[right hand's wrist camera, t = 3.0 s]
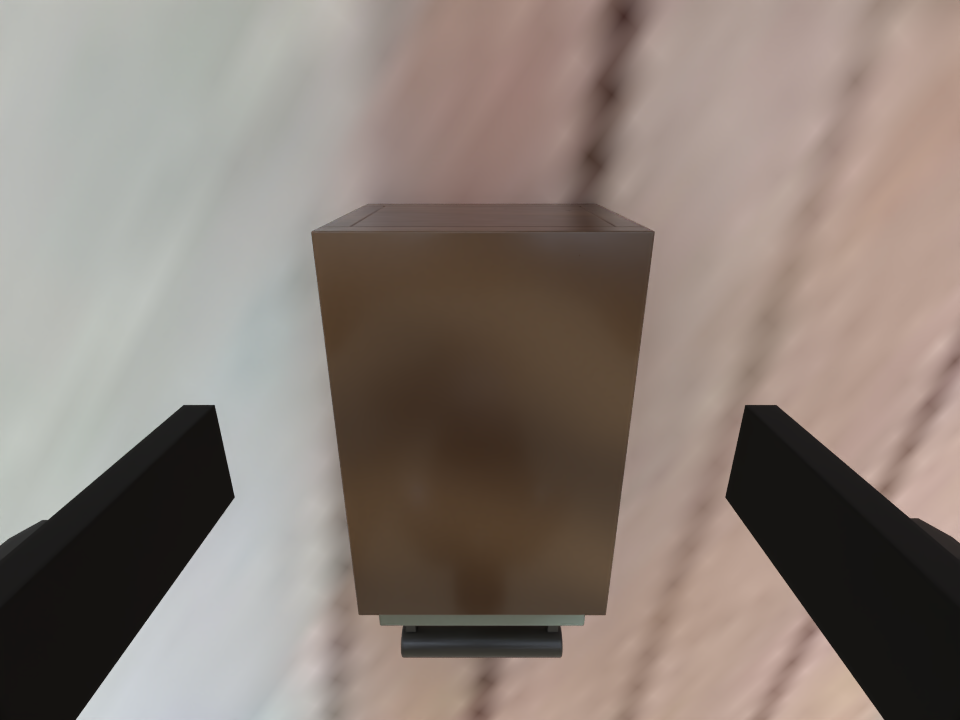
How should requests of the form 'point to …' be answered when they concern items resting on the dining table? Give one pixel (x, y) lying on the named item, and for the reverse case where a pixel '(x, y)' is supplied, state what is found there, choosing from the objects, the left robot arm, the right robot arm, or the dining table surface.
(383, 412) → the cabinet
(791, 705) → the dining table surface
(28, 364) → the dining table surface
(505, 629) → the drawer
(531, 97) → the dining table surface
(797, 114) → the dining table surface
